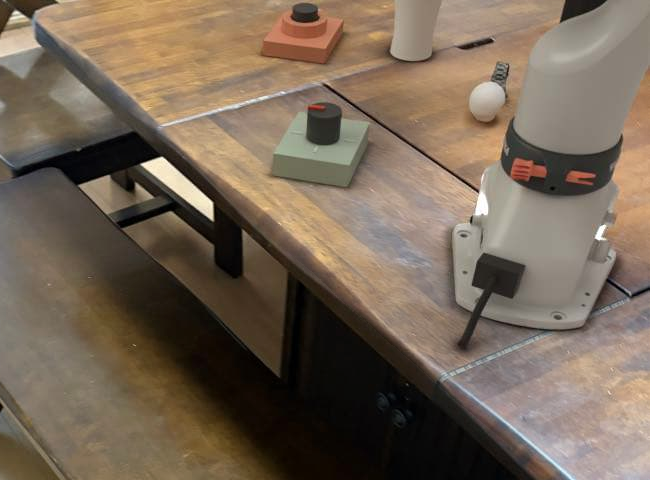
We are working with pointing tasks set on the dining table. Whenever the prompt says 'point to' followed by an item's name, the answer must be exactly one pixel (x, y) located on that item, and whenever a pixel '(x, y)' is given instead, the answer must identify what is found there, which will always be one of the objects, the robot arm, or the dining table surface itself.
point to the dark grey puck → (305, 13)
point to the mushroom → (486, 101)
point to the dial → (323, 123)
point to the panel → (321, 153)
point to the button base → (303, 38)
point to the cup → (414, 28)
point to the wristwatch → (501, 75)
